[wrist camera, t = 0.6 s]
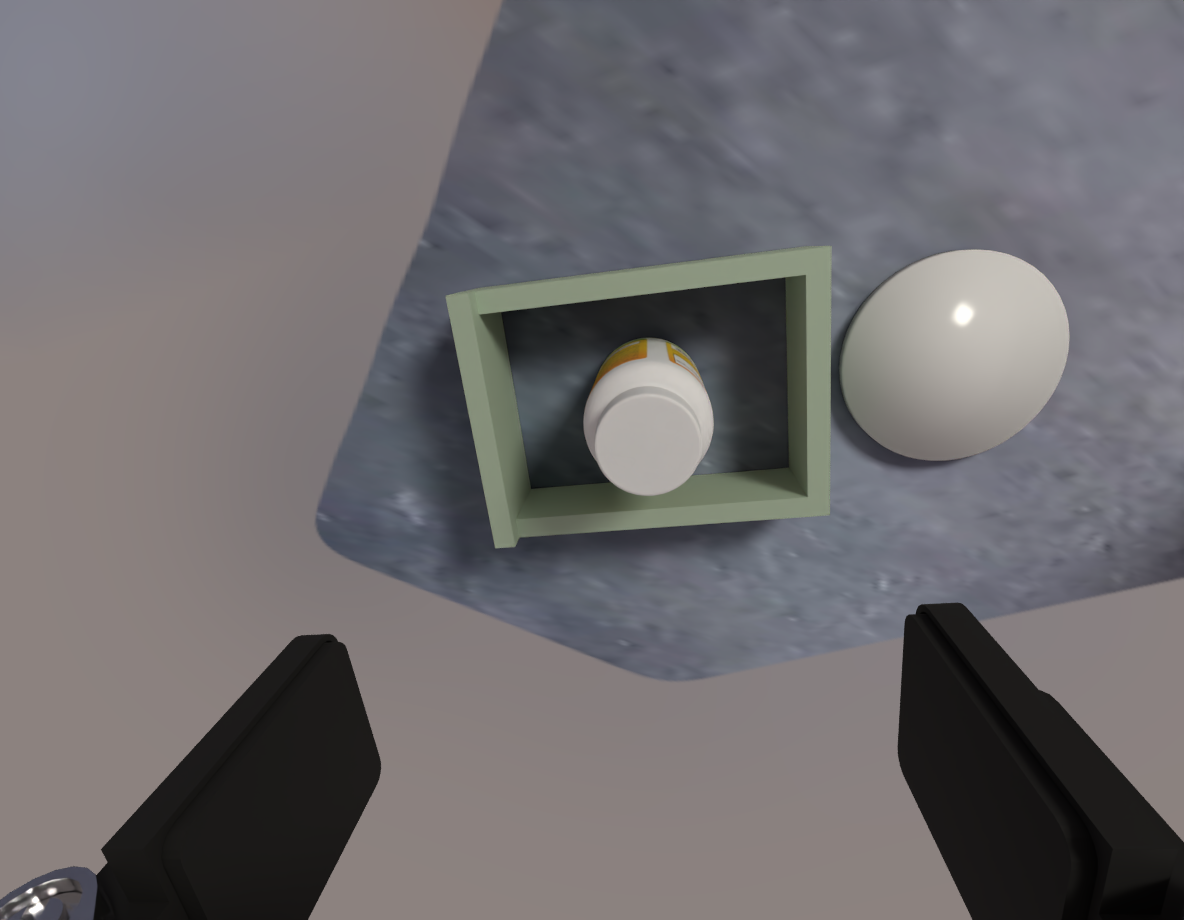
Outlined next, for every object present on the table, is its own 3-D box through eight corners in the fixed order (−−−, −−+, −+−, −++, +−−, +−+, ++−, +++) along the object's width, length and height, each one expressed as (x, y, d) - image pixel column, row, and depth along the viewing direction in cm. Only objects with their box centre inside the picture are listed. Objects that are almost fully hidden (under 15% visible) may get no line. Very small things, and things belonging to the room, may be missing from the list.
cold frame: (807, 246, 28) (838, 245, 23) (808, 483, 32) (836, 524, 27) (477, 288, 30) (445, 295, 25) (516, 506, 34) (495, 548, 29)
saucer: (1071, 235, 27) (1084, 235, 26) (1044, 446, 30) (1054, 451, 29) (839, 264, 28) (845, 264, 27) (837, 463, 31) (842, 468, 30)
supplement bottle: (589, 429, 32) (565, 502, 23) (604, 328, 30) (584, 363, 21) (689, 445, 32) (705, 525, 23) (710, 344, 30) (737, 387, 21)
